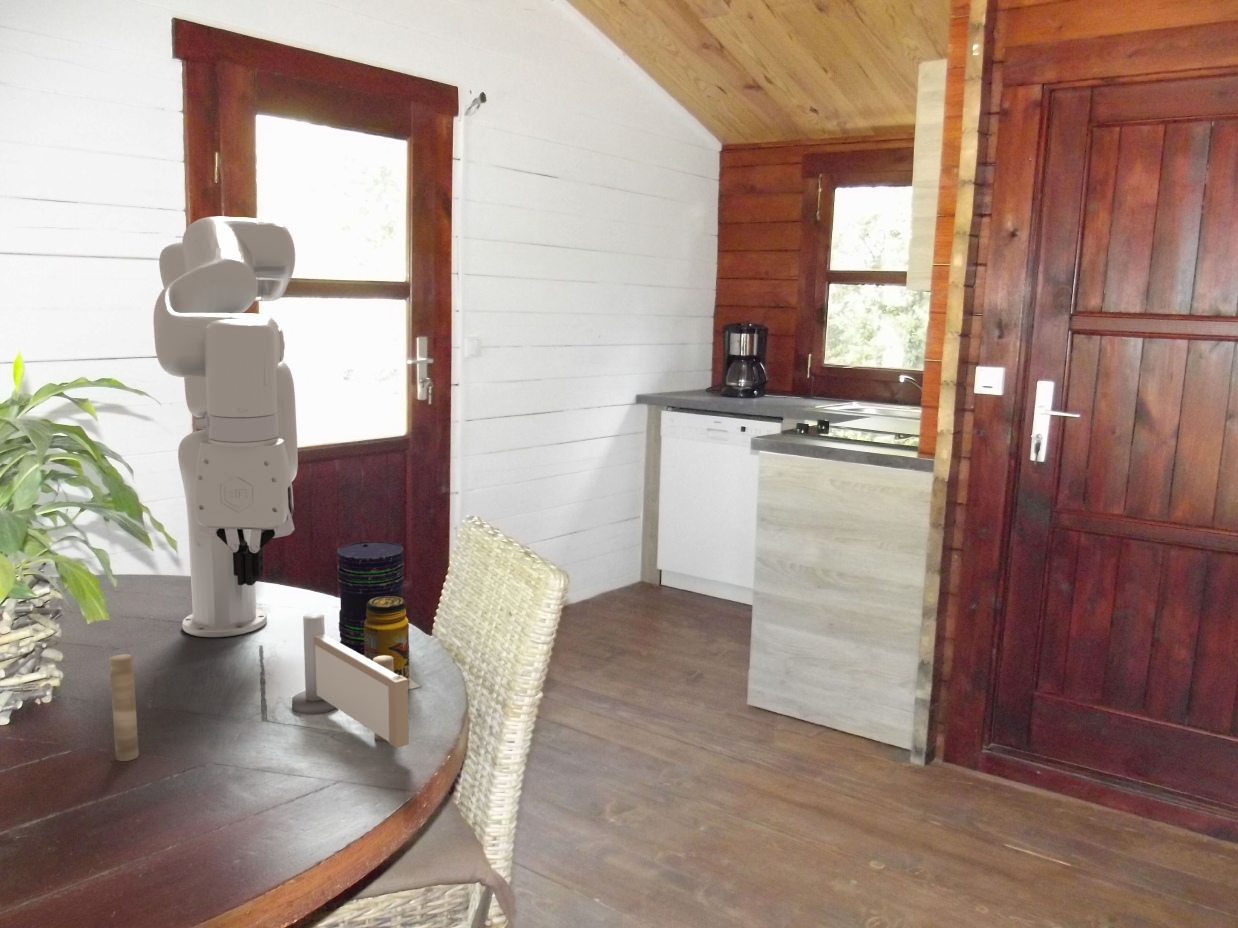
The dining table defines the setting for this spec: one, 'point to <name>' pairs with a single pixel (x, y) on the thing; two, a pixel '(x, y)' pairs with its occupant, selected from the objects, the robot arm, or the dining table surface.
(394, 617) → the condiment
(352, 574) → the storage jar
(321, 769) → the dining table surface
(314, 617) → the gate
